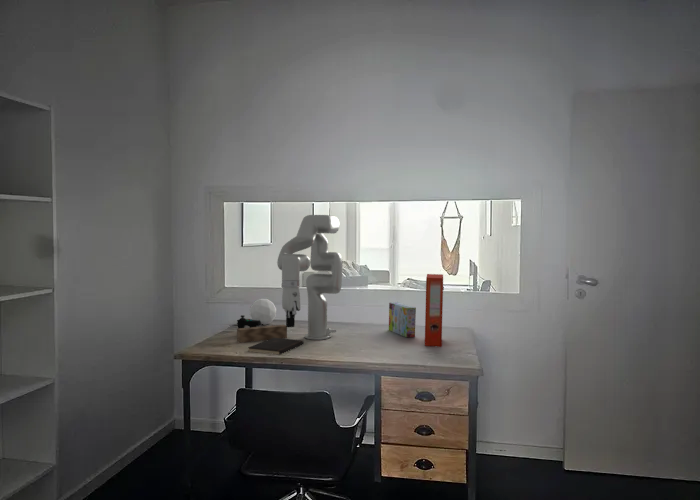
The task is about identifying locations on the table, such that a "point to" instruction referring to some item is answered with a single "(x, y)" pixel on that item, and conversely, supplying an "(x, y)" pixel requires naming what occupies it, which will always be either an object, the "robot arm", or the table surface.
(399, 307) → the snack box
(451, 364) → the table surface
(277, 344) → the hardcover book
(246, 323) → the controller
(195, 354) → the table surface
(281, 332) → the brown wooden block
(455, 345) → the table surface
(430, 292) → the file binder
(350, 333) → the table surface
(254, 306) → the geometric sphere
